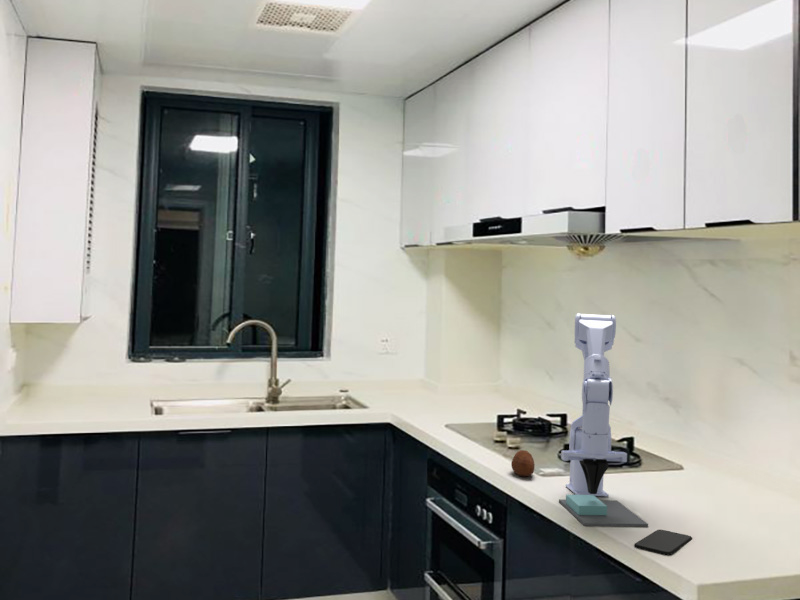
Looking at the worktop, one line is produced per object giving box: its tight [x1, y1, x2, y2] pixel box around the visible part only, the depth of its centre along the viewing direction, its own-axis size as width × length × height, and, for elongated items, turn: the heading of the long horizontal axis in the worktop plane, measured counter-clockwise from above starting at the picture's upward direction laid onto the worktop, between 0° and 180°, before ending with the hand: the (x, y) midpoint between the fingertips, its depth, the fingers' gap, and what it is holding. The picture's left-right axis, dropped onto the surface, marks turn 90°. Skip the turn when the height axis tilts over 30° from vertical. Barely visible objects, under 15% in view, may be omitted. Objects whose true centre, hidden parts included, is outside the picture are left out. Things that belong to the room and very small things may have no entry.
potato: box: [511, 449, 535, 477], centre depth 209 cm, size 6×12×6 cm, turn 7°
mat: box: [558, 499, 649, 528], centre depth 176 cm, size 18×14×1 cm
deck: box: [565, 494, 607, 515], centre depth 176 cm, size 9×2×6 cm
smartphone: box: [633, 529, 693, 556], centre depth 157 cm, size 7×1×15 cm
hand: (592, 492), depth 176 cm, fingers closed
